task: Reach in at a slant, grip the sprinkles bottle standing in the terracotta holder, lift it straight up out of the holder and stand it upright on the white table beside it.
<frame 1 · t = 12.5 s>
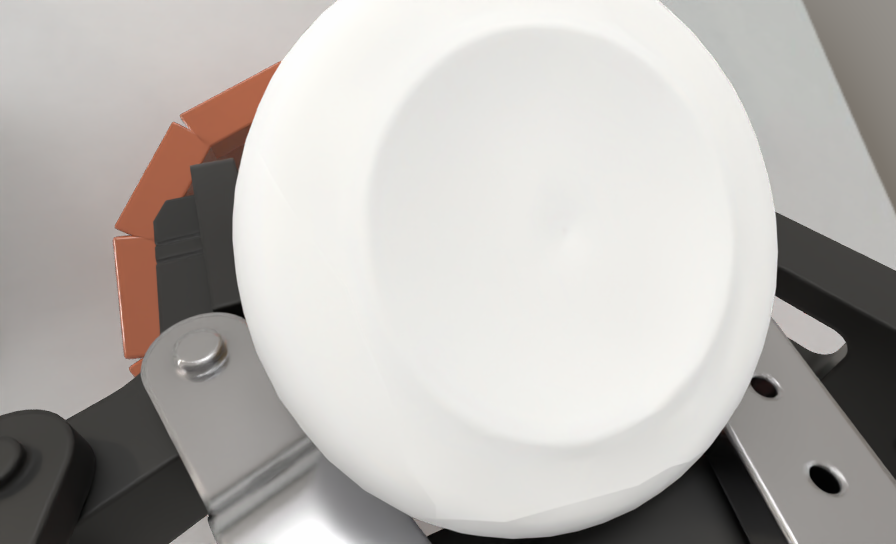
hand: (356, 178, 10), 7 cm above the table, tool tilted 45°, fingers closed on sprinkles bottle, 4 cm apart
sprinkles bottle: (342, 279, 16), resting in holder, touching gripper
holder: (343, 279, 16), on the table
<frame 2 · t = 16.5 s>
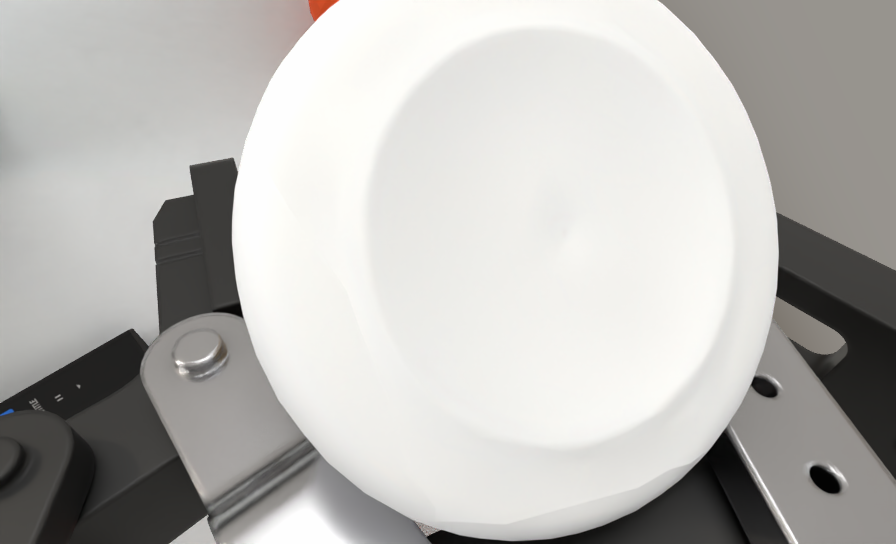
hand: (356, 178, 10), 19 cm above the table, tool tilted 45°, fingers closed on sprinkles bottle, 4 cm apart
clementine: (372, 35, 29), on the table
sprinkles bottle: (343, 279, 16), point 12 cm above the table, touching gripper
when the fingers open (7 cm above the table, at t = 20.8 s): sprinkles bottle stays where it is, on the table.
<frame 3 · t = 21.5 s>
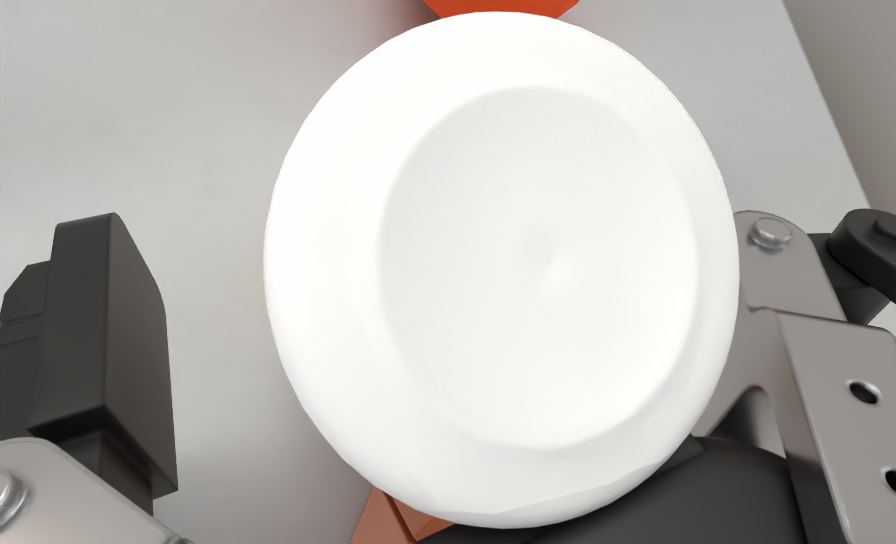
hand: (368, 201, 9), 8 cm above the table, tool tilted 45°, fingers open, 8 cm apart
sprinkles bottle: (347, 284, 17), on the table
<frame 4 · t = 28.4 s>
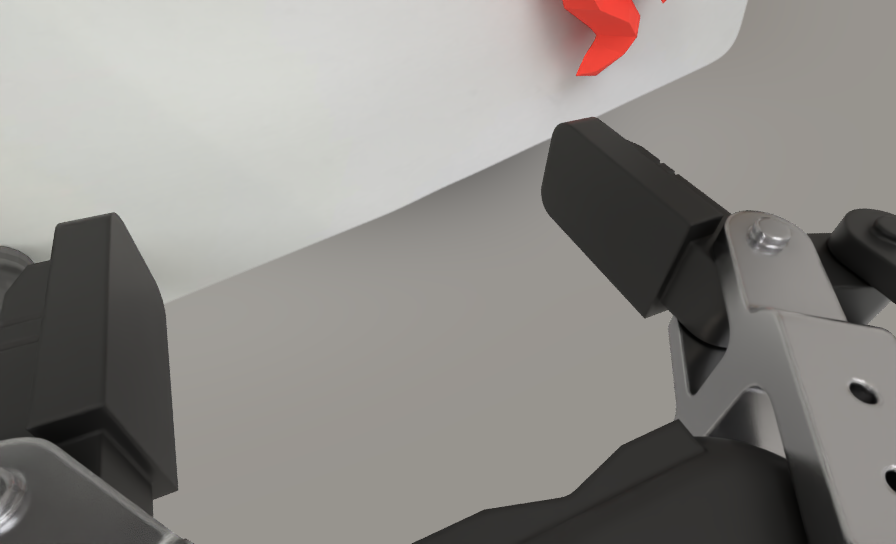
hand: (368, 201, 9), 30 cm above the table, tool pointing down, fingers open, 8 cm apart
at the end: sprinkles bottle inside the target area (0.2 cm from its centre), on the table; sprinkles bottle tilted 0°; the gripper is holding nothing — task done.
